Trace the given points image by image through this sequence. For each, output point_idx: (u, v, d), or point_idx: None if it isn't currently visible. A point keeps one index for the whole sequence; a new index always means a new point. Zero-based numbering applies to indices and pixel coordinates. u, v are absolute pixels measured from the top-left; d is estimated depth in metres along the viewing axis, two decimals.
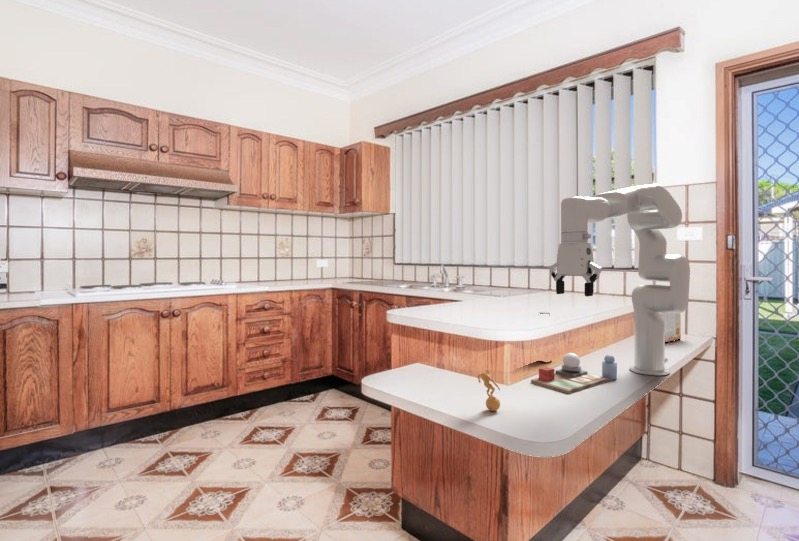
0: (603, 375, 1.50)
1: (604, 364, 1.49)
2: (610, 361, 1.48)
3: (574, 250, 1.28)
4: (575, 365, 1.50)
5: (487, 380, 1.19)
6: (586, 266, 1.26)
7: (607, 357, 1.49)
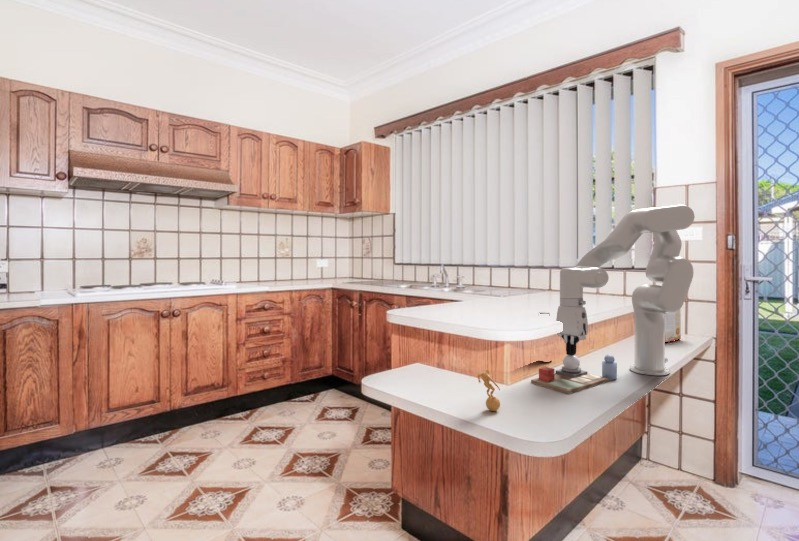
0: (603, 375, 1.50)
1: (604, 364, 1.49)
2: (610, 361, 1.48)
3: (571, 314, 1.49)
4: (575, 367, 1.50)
5: (487, 380, 1.19)
6: (581, 328, 1.47)
7: (607, 357, 1.49)
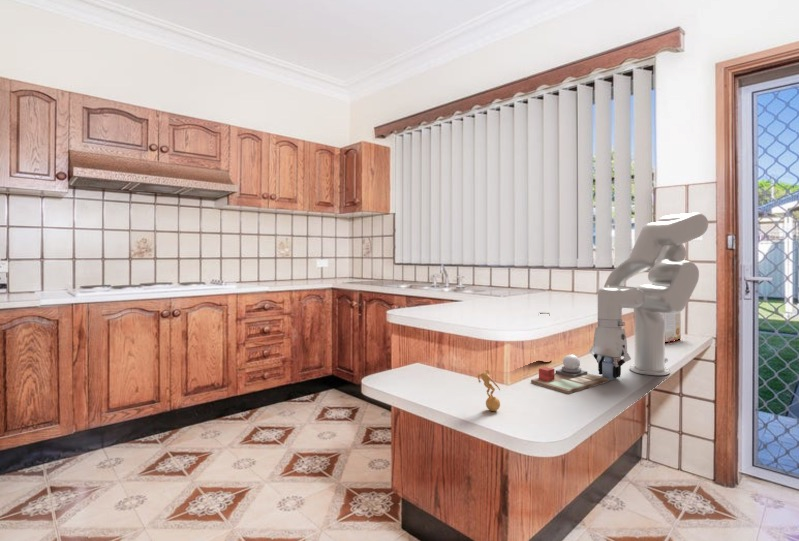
0: (603, 375, 1.50)
1: (604, 364, 1.49)
2: (610, 361, 1.48)
3: (610, 335, 1.47)
4: (575, 367, 1.50)
5: (487, 380, 1.19)
6: (621, 350, 1.45)
7: (607, 357, 1.49)
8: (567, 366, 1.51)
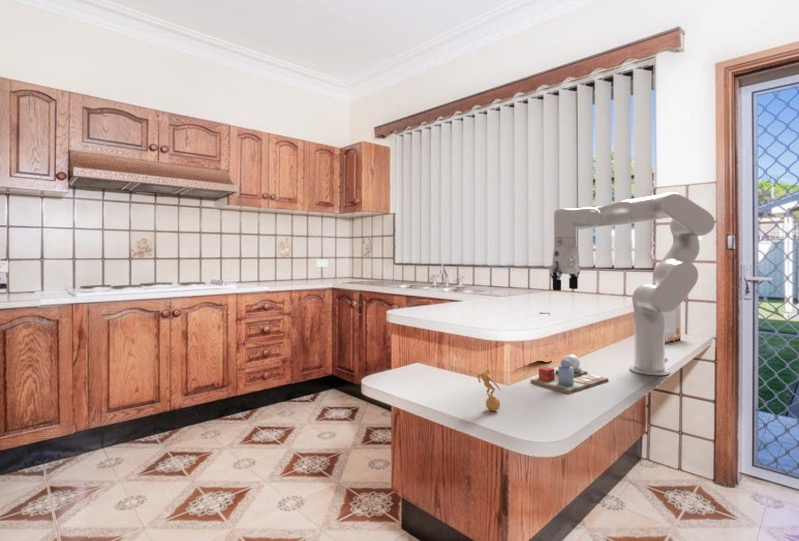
0: None
1: None
2: (561, 365, 1.41)
3: None
4: (575, 367, 1.50)
5: (487, 380, 1.19)
6: None
7: None
8: None
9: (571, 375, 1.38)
